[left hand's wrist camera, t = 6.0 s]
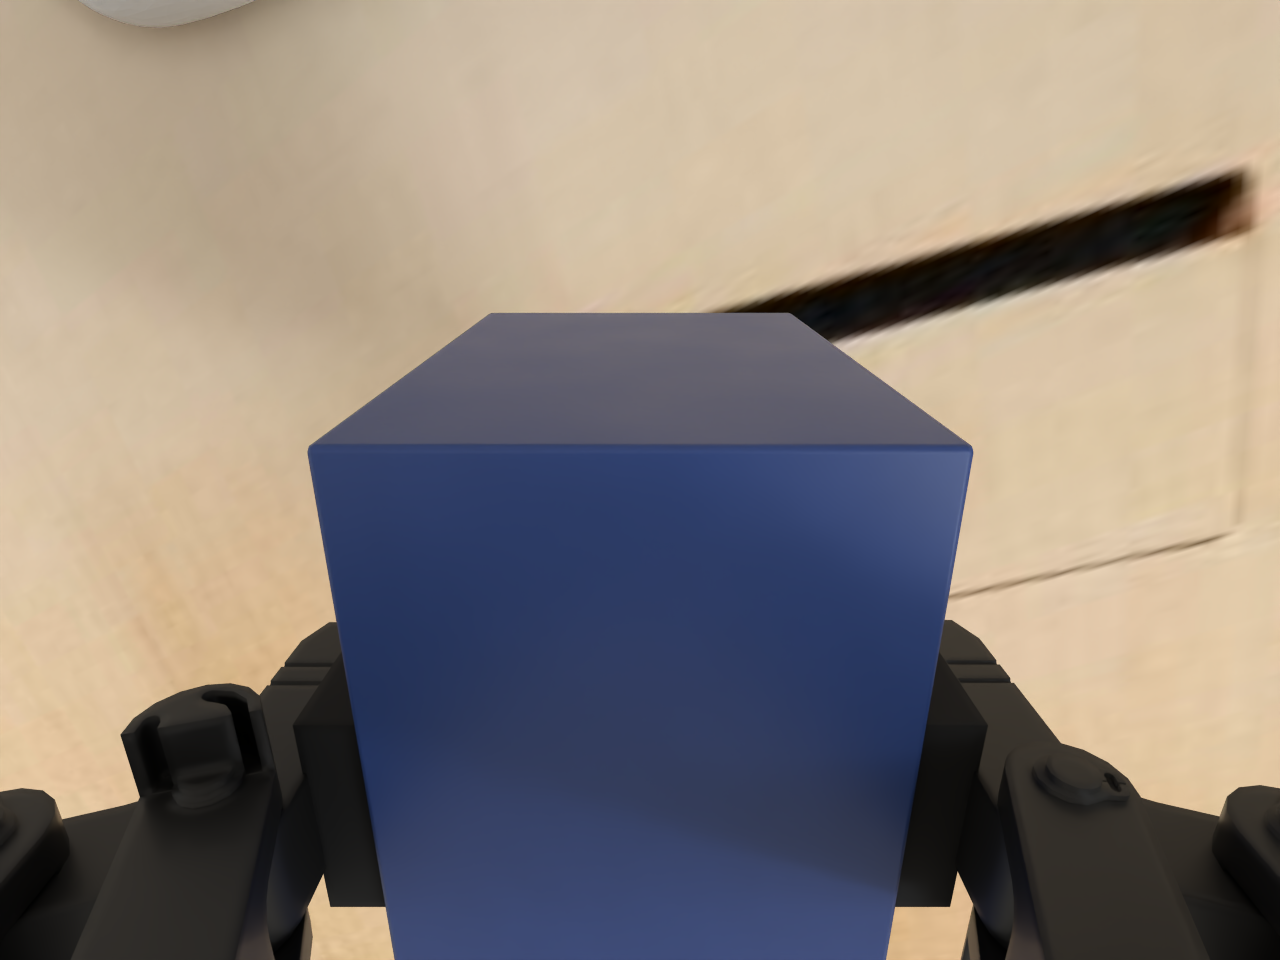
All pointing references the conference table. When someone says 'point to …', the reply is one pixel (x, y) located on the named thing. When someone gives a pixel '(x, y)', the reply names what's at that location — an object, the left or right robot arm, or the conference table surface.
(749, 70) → the conference table surface
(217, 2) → the projector
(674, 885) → the brick
